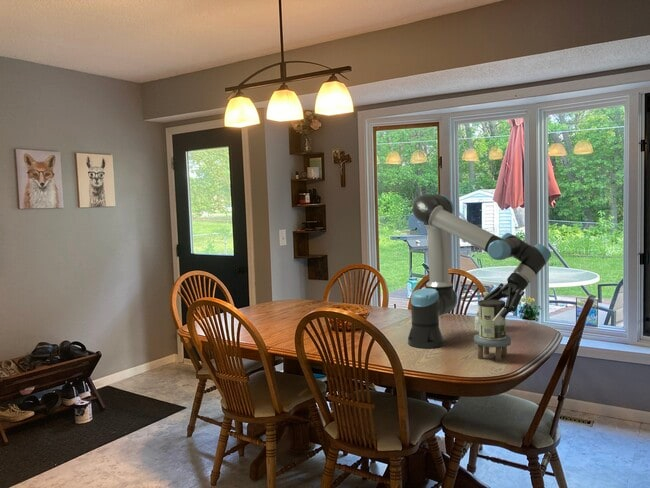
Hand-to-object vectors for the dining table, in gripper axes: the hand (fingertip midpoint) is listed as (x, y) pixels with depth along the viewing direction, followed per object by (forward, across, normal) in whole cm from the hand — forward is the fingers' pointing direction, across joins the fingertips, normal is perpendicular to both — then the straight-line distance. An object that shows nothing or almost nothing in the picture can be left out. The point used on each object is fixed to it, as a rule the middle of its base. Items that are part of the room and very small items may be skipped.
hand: (486, 319), depth 207 cm
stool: (+9, 0, -13) cm, 16 cm away
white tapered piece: (-7, +40, -29) cm, 50 cm away
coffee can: (+3, 0, -7) cm, 8 cm away
